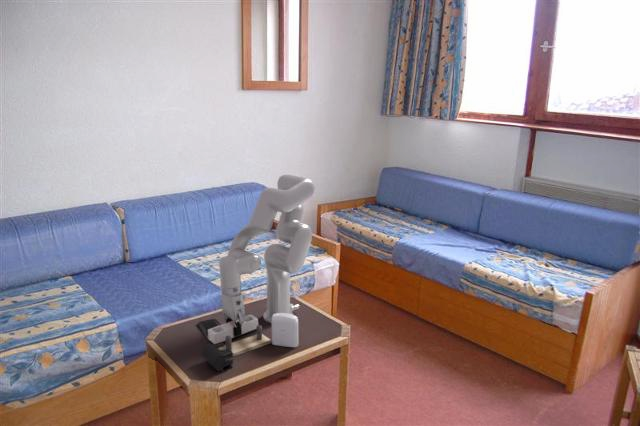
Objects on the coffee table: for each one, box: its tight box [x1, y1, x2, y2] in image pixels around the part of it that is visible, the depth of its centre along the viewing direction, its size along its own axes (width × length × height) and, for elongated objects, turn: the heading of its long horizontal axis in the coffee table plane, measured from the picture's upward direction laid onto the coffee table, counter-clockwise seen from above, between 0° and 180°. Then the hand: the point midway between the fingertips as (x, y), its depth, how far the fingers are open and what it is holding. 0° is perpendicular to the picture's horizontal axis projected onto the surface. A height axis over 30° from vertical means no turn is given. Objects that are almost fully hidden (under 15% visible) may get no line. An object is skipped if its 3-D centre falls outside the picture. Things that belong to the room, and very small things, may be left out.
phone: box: [197, 318, 222, 339], centre depth 197 cm, size 8×1×15 cm
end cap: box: [200, 342, 234, 373], centre depth 171 cm, size 10×7×7 cm
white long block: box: [207, 314, 259, 344], centre depth 192 cm, size 19×5×4 cm, turn 129°
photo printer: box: [271, 313, 299, 348], centre depth 186 cm, size 10×4×12 cm, turn 76°
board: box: [219, 324, 272, 360], centre depth 184 cm, size 19×7×6 cm, turn 129°
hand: (233, 331), depth 192 cm, fingers closed on white long block, 5 cm apart
